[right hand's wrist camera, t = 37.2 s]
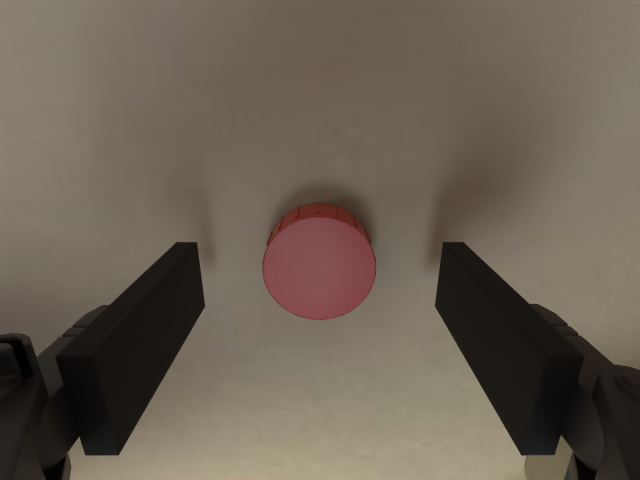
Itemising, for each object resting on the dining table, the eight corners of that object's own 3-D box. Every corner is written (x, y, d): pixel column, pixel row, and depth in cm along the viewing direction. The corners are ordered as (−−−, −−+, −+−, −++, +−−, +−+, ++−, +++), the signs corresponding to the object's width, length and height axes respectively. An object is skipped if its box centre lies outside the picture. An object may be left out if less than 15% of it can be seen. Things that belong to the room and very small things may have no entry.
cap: (286, 186, 15) (281, 198, 13) (386, 221, 15) (396, 237, 14) (256, 279, 16) (247, 301, 14) (348, 308, 17) (352, 333, 15)
